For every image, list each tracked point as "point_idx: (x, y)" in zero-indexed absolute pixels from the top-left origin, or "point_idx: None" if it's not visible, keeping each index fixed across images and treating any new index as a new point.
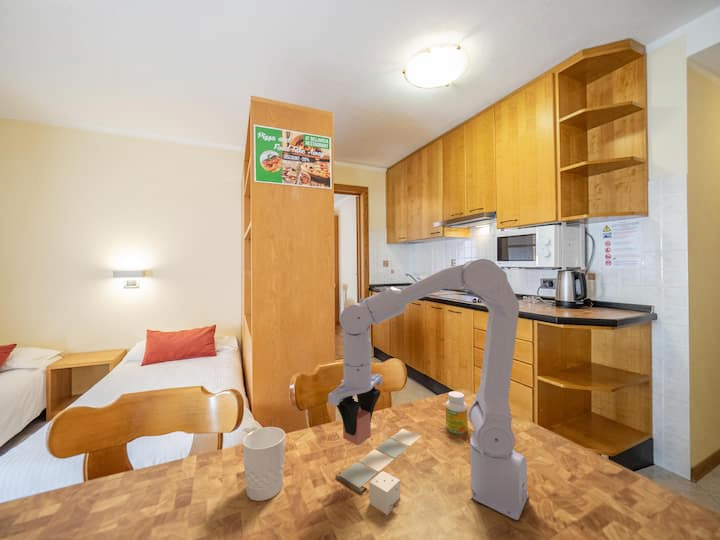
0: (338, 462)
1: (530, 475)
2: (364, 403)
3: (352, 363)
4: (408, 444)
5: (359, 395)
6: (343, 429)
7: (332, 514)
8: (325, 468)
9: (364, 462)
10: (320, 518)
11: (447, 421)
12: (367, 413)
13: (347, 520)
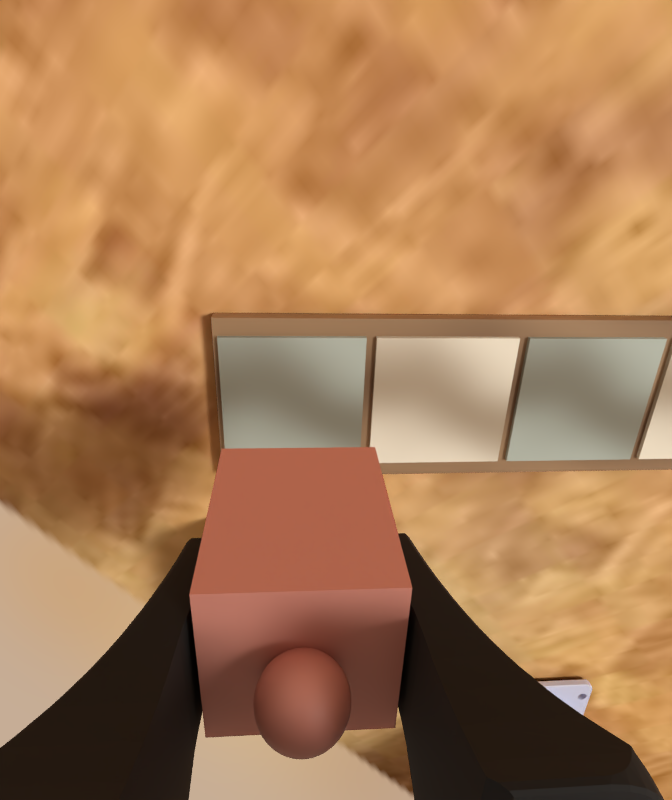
0: (318, 227)
1: (651, 758)
2: (422, 740)
3: None
4: (649, 449)
5: (454, 766)
6: (212, 493)
7: (59, 454)
8: (226, 204)
9: (386, 371)
10: (6, 434)
11: None
12: (364, 722)
13: (89, 509)
